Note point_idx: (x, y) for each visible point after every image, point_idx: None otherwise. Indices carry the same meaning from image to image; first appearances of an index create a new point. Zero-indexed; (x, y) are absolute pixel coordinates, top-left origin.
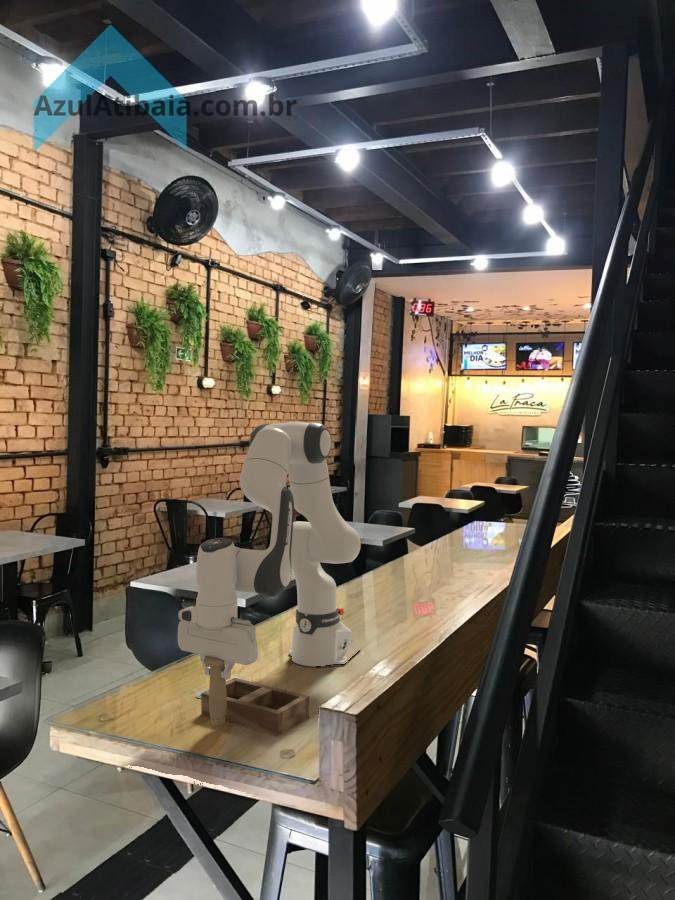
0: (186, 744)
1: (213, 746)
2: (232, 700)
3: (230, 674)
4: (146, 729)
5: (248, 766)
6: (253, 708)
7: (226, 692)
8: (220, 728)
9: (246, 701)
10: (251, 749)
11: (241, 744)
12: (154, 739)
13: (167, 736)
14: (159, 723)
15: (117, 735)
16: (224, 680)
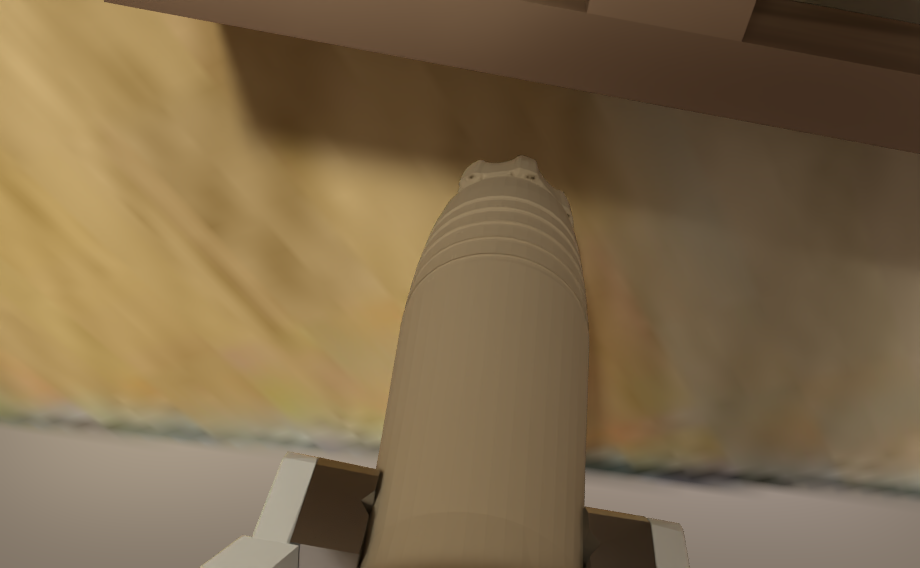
0: None
1: (602, 373)
2: (542, 56)
3: (685, 562)
4: (80, 312)
5: (903, 496)
6: (844, 135)
7: (582, 338)
8: (509, 139)
9: (715, 25)
10: (866, 341)
11: (773, 304)
12: (228, 396)
13: (263, 348)
14: (68, 217)
15: (21, 412)
16: (584, 488)
